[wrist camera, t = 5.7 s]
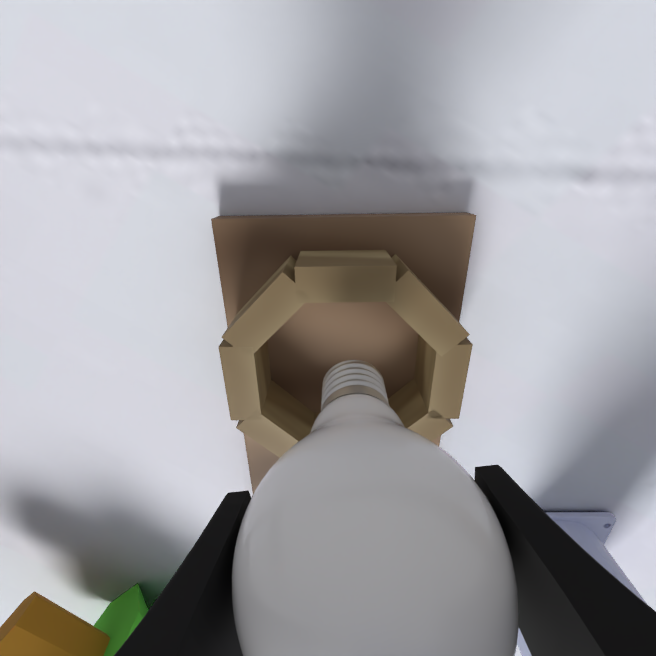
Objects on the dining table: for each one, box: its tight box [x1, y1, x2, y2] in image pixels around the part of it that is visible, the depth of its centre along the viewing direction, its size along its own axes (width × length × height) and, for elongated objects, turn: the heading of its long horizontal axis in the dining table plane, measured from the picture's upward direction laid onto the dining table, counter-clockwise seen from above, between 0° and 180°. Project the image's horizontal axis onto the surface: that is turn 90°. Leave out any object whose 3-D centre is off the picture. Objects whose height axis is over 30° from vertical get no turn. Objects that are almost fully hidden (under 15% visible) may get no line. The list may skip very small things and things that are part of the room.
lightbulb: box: [232, 360, 519, 656], centre depth 10 cm, size 6×6×11 cm
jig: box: [211, 213, 476, 494], centre depth 19 cm, size 20×12×4 cm, turn 1°
